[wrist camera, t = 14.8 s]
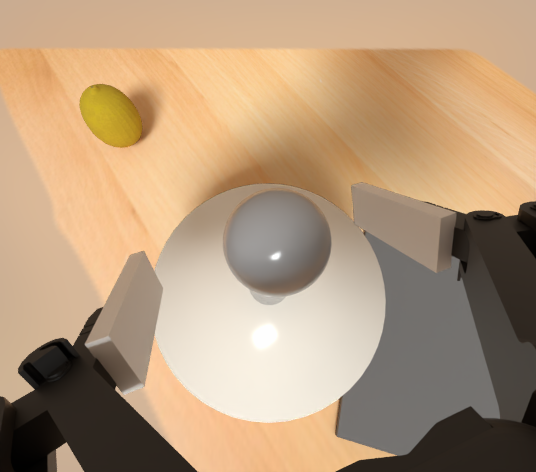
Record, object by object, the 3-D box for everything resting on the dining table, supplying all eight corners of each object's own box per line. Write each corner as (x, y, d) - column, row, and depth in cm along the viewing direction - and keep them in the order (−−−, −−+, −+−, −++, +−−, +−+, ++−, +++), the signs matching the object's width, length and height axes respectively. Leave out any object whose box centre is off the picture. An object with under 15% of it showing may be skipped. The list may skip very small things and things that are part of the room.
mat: (366, 215, 30) (368, 214, 29) (561, 264, 28) (566, 263, 28) (335, 434, 22) (337, 436, 22) (598, 516, 21) (606, 520, 20)
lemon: (160, 135, 33) (131, 78, 26) (134, 167, 31) (95, 115, 24) (126, 120, 34) (88, 60, 27) (98, 150, 32) (49, 95, 25)
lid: (202, 170, 24) (144, 7, 12) (388, 217, 23) (534, 88, 11) (115, 374, 18) (-188, 464, 6) (363, 451, 17) (632, 768, 5)
